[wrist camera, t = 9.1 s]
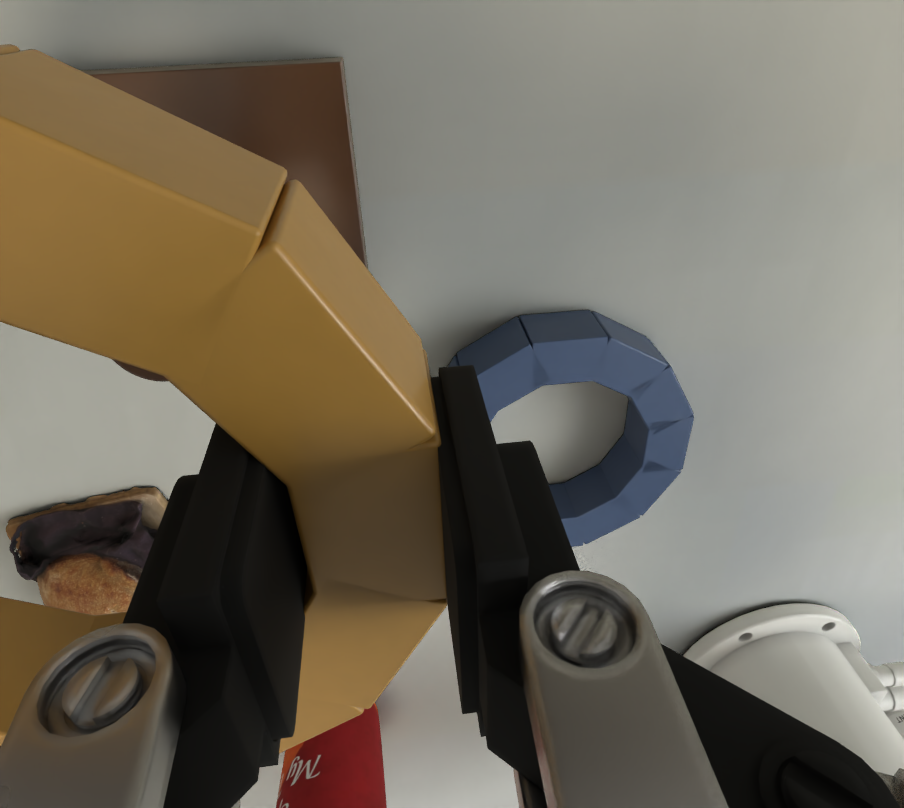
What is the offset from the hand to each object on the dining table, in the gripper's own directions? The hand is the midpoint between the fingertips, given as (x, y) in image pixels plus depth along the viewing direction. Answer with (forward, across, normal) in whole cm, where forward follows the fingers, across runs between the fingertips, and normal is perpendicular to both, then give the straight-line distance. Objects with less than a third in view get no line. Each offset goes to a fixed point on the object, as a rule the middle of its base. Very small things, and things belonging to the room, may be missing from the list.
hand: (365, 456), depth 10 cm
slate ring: (+15, -7, +11) cm, 20 cm away
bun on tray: (+15, +14, +18) cm, 27 cm away
